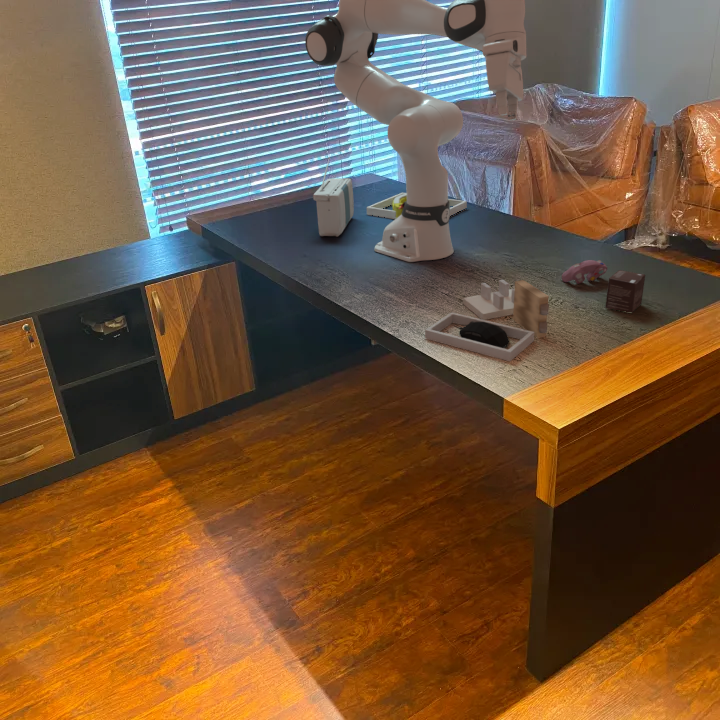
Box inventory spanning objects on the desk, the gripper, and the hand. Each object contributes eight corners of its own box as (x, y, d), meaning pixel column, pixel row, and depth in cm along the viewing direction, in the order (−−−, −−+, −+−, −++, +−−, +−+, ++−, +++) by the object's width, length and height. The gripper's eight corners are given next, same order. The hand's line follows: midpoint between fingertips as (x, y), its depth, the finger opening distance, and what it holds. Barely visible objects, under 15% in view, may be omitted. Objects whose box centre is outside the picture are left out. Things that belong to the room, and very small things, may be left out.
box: (615, 299, 161) (619, 269, 158) (641, 305, 158) (646, 274, 154) (604, 308, 157) (608, 277, 154) (631, 314, 154) (635, 283, 150)
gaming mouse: (464, 323, 155) (464, 306, 153) (515, 345, 145) (516, 327, 143) (443, 331, 152) (443, 314, 150) (493, 354, 141) (494, 336, 139)
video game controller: (566, 291, 171) (575, 271, 165) (558, 278, 173) (567, 257, 168) (603, 285, 173) (613, 265, 167) (594, 272, 176) (604, 252, 170)
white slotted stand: (463, 303, 164) (463, 285, 162) (517, 293, 167) (517, 275, 165) (483, 320, 155) (483, 301, 153) (539, 309, 159) (540, 290, 157)
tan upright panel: (513, 320, 155) (514, 281, 150) (521, 318, 155) (523, 279, 151) (540, 340, 145) (543, 300, 141) (548, 338, 146) (551, 298, 141)
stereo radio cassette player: (342, 238, 213) (337, 171, 203) (315, 238, 214) (310, 171, 205) (355, 218, 231) (351, 155, 221) (330, 218, 232) (325, 156, 223)
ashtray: (385, 222, 226) (385, 206, 224) (398, 204, 244) (397, 189, 241) (436, 223, 222) (436, 207, 220) (446, 204, 240) (446, 190, 238)
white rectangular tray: (366, 214, 233) (366, 207, 232) (402, 199, 247) (402, 192, 246) (432, 225, 219) (432, 217, 217) (466, 208, 233) (466, 201, 232)
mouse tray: (425, 338, 149) (424, 329, 148) (451, 320, 156) (451, 312, 155) (509, 361, 138) (510, 352, 137) (533, 340, 145) (534, 332, 144)
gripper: (501, 63, 166) (504, 124, 168) (480, 44, 147) (482, 113, 150) (529, 58, 163) (530, 121, 165) (510, 39, 145) (512, 109, 147)
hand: (507, 117), depth 157 cm, fingers open, 8 cm apart
